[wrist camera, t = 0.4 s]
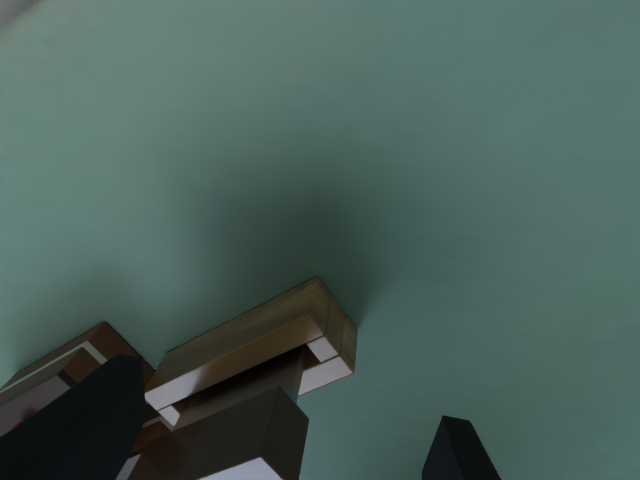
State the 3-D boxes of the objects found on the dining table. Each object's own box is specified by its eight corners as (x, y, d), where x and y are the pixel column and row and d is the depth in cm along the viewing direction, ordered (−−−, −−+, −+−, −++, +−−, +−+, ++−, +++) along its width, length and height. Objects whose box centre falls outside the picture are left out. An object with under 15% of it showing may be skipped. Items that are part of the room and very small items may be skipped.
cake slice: (161, 377, 25) (113, 457, 21) (71, 421, 28) (12, 500, 23) (105, 320, 24) (40, 393, 19) (16, 372, 26) (-59, 447, 22)
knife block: (358, 329, 22) (355, 373, 19) (208, 396, 25) (188, 441, 23) (317, 275, 21) (308, 314, 18) (166, 353, 24) (139, 395, 22)
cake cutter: (325, 329, 22) (297, 493, 15) (217, 378, 25) (145, 540, 17) (302, 299, 21) (260, 455, 14) (194, 353, 24) (109, 510, 16)
